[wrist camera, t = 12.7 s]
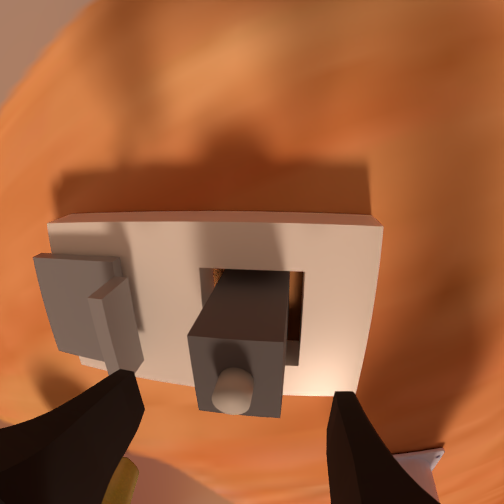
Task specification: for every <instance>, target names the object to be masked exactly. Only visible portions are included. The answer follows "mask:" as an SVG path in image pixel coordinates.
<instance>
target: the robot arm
mask: <svg viewBox="0 0 504 504" xmlns="http://www.w3.org/2000/svg"><path fill="white" fill-rule="evenodd" d="M144 410H145V408H144V405H143V401H142V398H141V395H140V391H139V388H138V384H137V381H136V377H135V374H134V371H129V370H124V369H119V370H117V371H116V372H114V373H112V374H111V375H109V376H108V377H106V378H105V379H103V380H102V381H100V382H99V383H97V384H96V385H94V386H92V387H91V388H89V389H88V390H86V391H85V392H83V393H82V394H80V395H78V396H77V397H75V398H73V399H72V400H70V401H68V402H66V403H65V404H63V405H61V406H59V407H58V408H56V409H54V410H52V411H50V412H48V413H45V414H43V415H41V416H39V417H36V418H34V419H31V420H28V421H25V422H22V423H19V424H16V425H13V426H10V427H6V428H2V429H0V504H102V501H103V498H104V496H105V493H106V490H107V488H108V485H109V482H110V480H111V478H112V476H113V474H114V472H115V470H116V468H117V466H118V464H119V463H120V461H121V459H122V457H123V455H124V454H125V452H126V450H127V448H128V446H129V445H130V443H131V441H132V439H133V437H134V435H135V433H136V432H137V429H138V427H139V424H140V422H141V419H142V416H143V413H144ZM444 452H445V451H444V448H437V449H431V450H425V451H419V452H412V453H404V454H395V455H392V454H391V452H390V451H389V450H388V448H387V447H386V446H385V444H384V443H383V441H382V440H381V438H380V437H379V435H378V434H377V432H376V431H375V429H374V428H373V426H372V424H371V423H370V421H369V419H368V418H367V416H366V414H365V412H364V410H363V409H362V407H361V405H360V403H359V401H358V399H357V397H356V395H355V393H354V392H353V391H335V393H334V398H333V403H332V408H331V413H330V417H329V422H328V426H327V453H326V454H327V465H328V475H329V486H330V497H331V504H440V503H439V499H438V495H437V491H436V487H435V483H434V479H433V475H432V470H433V469H434V467H435V466H436V464H437V463H438V461H439V460H440V458H441V457H442V455H443V454H444Z"/></svg>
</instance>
